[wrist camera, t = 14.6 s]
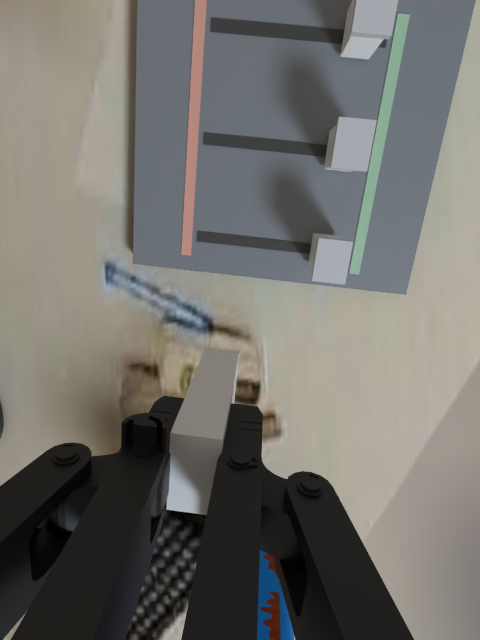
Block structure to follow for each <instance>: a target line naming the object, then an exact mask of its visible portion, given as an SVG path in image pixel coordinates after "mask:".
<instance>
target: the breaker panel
mask: <svg viewBox="0 0 480 640" xmlns="http://www.w3.org/2000/svg"><path fill="white" fill-rule="evenodd" d="M475 1H476V0H398V4H397V10H396V15H395V20H394V26H393V31H392V36H391V37H390V38H389V39H384V40H383V41H382V42H381V44H380V45H379V46H378V48H377V49H376V50H375V52H374V53H373V54H372V56H371V57H370V58H369V59H358V58H347V57H340V55H341V49H342V43H343V36H344V30H345V23H346V17H347V12H348V9H349V7H350V5H351V2H352V0H137V42H136V103H135V164H134V226H133V264H141V265H149V266H158V267H167V268H176V269H185V270H193V271H202V272H211V273H220V274H229V275H237V276H246V277H255V278H264V279H273V280H281V281H290V282H299V283H308V284H316V285H325V286H334V287H343V288H352V289H360V290H369V291H378V292H387V293H396V294H404V295H406V292H407V287H408V283H409V279H410V275H411V271H412V266H413V262H414V258H415V254H416V250H417V245H418V241H419V237H420V233H421V228H422V224H423V220H424V216H425V212H426V207H427V203H428V199H429V195H430V190H431V186H432V182H433V178H434V174H435V169H436V165H437V161H438V157H439V152H440V148H441V144H442V140H443V136H444V131H445V127H446V123H447V119H448V115H449V110H450V106H451V102H452V98H453V93H454V89H455V85H456V81H457V77H458V72H459V68H460V64H461V60H462V55H463V51H464V47H465V43H466V39H467V34H468V30H469V26H470V22H471V17H472V13H473V9H474V5H475ZM338 117H349V118H359V119H370V120H377V122H376V127H375V133H374V138H373V143H372V149H371V154H370V159H369V165H368V170H367V172H360V171H352V172H346V171H336V170H326V169H324V164H325V158H326V151H327V145H328V138H329V132H330V130H331V129H332V128H333V127H334V126H335V125H336V124H337V118H338ZM313 233H318V234H327V235H337V236H339V237H341V238H342V239H344V240H350V241H353V245H352V251H351V256H350V261H349V267H348V272H347V277H346V283H345V285H342V284H333V283H325V282H316V281H312V280H311V276H312V273H311V271H310V269H309V267H308V263H309V256H310V250H311V243H312V237H313Z"/></svg>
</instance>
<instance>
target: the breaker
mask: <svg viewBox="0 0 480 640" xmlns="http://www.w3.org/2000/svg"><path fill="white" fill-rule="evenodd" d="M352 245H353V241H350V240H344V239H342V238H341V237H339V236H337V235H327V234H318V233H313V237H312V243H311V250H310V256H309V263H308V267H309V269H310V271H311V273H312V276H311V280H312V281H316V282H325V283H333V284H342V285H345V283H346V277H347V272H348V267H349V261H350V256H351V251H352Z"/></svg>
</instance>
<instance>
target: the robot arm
mask: <svg viewBox="0 0 480 640" xmlns="http://www.w3.org/2000/svg"><path fill="white" fill-rule="evenodd" d="M238 361H239V351H233V350H225V349H216V348H208V347H206V348H205V350H204V352H203V355H202V357H201V360H200V362H199V365H198V367H197V369H196V372H195V374H194V377H193V379H192V382H191V384H190V386H189V389H188V391H187V394H186V396H185V399H184V398H176V397H168V396H163V397H161V398H160V399H159V400H157V401H156V402H154V404H153V406H152V408H151V410H150V412H149V413H141V414H136V415H132V416H130V417H128V418H126V419H125V420H124V421H123V422H122V445H121V449H120V450H119V452H118V453H115V454H110V455H103V456H92V457H91V451H90V449H89V448H88V447H87V446H85V445H83V444H79V443H64V444H61V445H57V446H54V447H53V448H51V449H49V450H47V451H46V452H45V453H43V454H42V455H41V456H39V457H38V458H37V459H35V460H34V461H33V462H32V463H30V464H29V465H28V466H26V467H25V468H24V469H22V470H21V471H20V472H18V473H17V474H16V475H15V476H13V477H12V478H11V479H9V480H8V481H7V482H5V483H4V484H3V485H1V486H0V640H3V639H4V637H5V636H6V635H7V634H8V633H9V632H10V630H11V629H12V628H13V627H14V626H15V624H16V623H17V622H18V621H19V620H20V619H21V617H22V616H23V615H24V614H25V613H26V614H25V616H24V618H23V619H22V621H21V623H20V625H19V626H18V628H17V630H16V632H15V633H14V635H13V637H12V639H11V640H125V638H126V635H127V632H128V629H129V626H130V623H131V620H132V616H133V613H134V610H135V607H136V604H137V601H138V598H139V595H140V592H141V588H142V585H143V582H144V579H145V576H146V573H147V570H148V567H149V563H150V560H151V557H152V554H153V551H154V548H155V545H156V542H157V538H158V535H159V532H160V529H161V526H162V521H163V508H164V505H165V502H166V499H167V507H166V510H173V511H181V512H188V513H195V514H203V515H206V520H205V525H204V530H203V535H202V540H201V545H200V550H199V555H198V560H197V565H196V570H195V574H194V579H193V584H192V589H191V594H190V599H189V604H188V609H187V614H186V619H185V624H184V629H183V634H182V639H181V640H257V623H258V592H259V561H260V550H261V551H263V552H265V553H267V554H270V555H272V556H274V563H275V567H276V570H277V574H278V577H279V581H280V585H281V588H282V592H283V596H284V599H285V603H286V607H287V610H288V614H289V618H290V621H291V625H292V629H293V632H294V636H295V639H296V640H414V639H413V637H412V635H411V633H410V631H409V629H408V628H407V626H406V624H405V622H404V620H403V618H402V616H401V614H400V612H399V611H398V609H397V607H396V605H395V603H394V601H393V599H392V597H391V596H390V594H389V592H388V590H387V588H386V586H385V584H384V583H383V580H382V579H381V577H380V575H379V573H378V571H377V569H376V567H375V565H374V563H373V562H372V560H371V558H370V556H369V554H368V552H367V550H366V548H365V547H364V545H363V543H362V541H361V539H360V537H359V535H358V533H357V531H356V530H355V528H354V526H353V524H352V522H351V520H350V518H349V516H348V515H347V513H346V511H345V509H344V507H343V505H342V503H341V501H340V499H339V498H338V496H337V494H336V492H335V490H334V488H333V487H332V485H331V484H330V483H329V482H328V480H326V479H325V478H323V477H322V476H320V475H317V474H315V473H312V472H303V471H302V472H297V473H294V474H292V475H291V476H289V477H288V479H284V478H282V477H279V476H277V475H275V474H273V473H272V472H270V471H269V470H268V469H267V468H266V467H265V466H264V464H263V462H262V458H261V452H262V423H263V414H262V413H261V411H260V410H259V408H258V407H257V406H249V405H241V404H234V398H235V389H236V379H237V370H238ZM3 424H4V420H3V412H2V408H1V405H0V438H1V435H2V432H3ZM27 610H28V611H27ZM26 611H27V612H26Z"/></svg>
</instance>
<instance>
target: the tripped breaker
mask: <svg viewBox="0 0 480 640" xmlns="http://www.w3.org/2000/svg"><path fill="white" fill-rule="evenodd" d="M376 122H377V120H370V119H359V118H349V117H338V118H337V124H336V125H335V126H334V127H333V128H332V129H331V130H330V132H329V138H328V145H327V151H326V158H325V164H324V169H326V170H336V171H346V172H352V171H360V172H367V170H368V165H369V159H370V154H371V149H372V143H373V138H374V133H375V127H376Z"/></svg>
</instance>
